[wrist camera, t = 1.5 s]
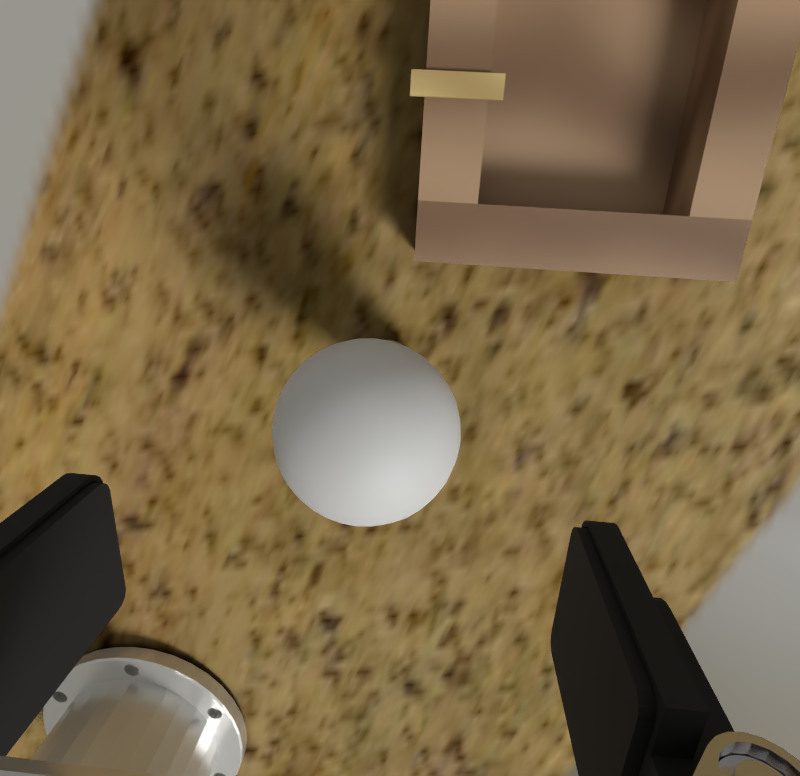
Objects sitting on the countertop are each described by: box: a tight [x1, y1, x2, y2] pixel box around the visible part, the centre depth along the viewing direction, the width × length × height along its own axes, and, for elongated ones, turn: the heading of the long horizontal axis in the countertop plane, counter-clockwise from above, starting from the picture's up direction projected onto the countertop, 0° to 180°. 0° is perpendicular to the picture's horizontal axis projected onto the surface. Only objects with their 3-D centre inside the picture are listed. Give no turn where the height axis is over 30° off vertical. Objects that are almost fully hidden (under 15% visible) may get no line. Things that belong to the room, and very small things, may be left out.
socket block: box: [410, 0, 800, 282], centre depth 20 cm, size 12×12×3 cm
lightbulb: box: [272, 338, 460, 526], centre depth 20 cm, size 6×6×11 cm
